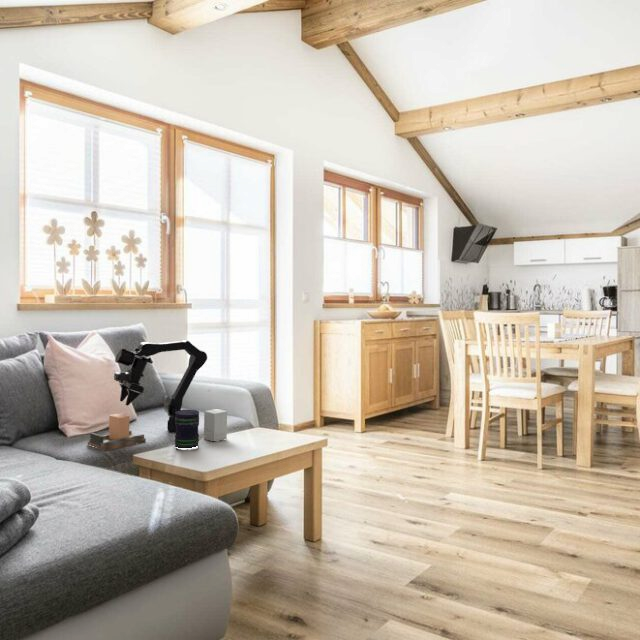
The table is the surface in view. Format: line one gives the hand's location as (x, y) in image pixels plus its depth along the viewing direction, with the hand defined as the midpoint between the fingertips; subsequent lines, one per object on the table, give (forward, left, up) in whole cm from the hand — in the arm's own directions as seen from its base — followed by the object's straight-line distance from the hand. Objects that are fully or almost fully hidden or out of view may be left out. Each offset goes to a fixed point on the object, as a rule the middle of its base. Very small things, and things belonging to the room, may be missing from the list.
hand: (123, 403), depth 284 cm
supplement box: (-39, +8, -15) cm, 43 cm away
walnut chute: (+2, +12, -15) cm, 19 cm away
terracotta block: (+1, +11, -13) cm, 17 cm away
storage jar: (-27, +20, -15) cm, 37 cm away
